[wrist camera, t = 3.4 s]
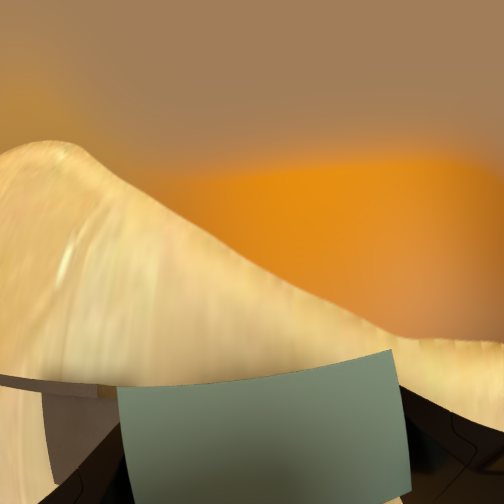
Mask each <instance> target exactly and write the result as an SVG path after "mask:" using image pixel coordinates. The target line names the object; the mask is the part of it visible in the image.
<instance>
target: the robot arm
mask: <svg viewBox="0 0 504 504" xmlns="http://www.w3.org/2000/svg"><path fill="white" fill-rule="evenodd" d="M399 389H400V394H401V400H402V406H403V412H404V419H405V426H406V434H407V442H408V451H409V461H410V473H411V488H412V491H410V492H408V493H406V494H404V495H401V496H400V498H401V501H402V503H403V504H504V432H502V431H498V430H495V429H492V428H489V427H486V426H483V425H481V424H478V423H475V422H473V421H470V420H468V419H466V418H464V417H461V416H459V415H457V414H455V413H453V412H450V411H449V410H447V409H445V408H443V407H441V406H439V405H437V404H435V403H433V402H431V401H429V400H427V399H425V398H423V397H421V396H420V395H418V394H416V393H414V392H412V391H410V390H408V389H406V388H404V387H402V386H401V385H399ZM38 504H135V501H134V496H133V492H132V488H131V483H130V479H129V474H128V469H127V463H126V458H125V452H124V446H123V439H122V432H121V424H120V421H119V422H118V423H117V424H116V426H115V427H114V428H113V429H112V430H111V431H110V432H109V433H108V434H107V435H106V437H105V438H104V439H103V440H102V441H101V442H100V443H99V444H98V445H97V446H96V447H95V449H94V450H93V451H92V452H91V453H90V454H89V455H88V456H87V457H86V458H85V459H84V460H83V462H82V463H81V464H80V465H79V466H78V469H77V468H76V469H75V470H74V471H73V472H72V473H71V474H70V475H69V476H68V477H67V478H66V479H65V480H64V481H63V482H62V483H61V484H60V485H59V486H58V487H57V488H56V489H55V490H54V491H52V492H51V493H50V494H49V495H48V496H46V497H45V498H44V499H43V500H42V501H40V502H39V503H38Z"/></svg>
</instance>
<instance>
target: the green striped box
mask: <svg viewBox="0 0 504 504" xmlns="http://www.w3.org/2000/svg"><path fill="white" fill-rule="evenodd" d="M117 396H118V407H119V416H120V424H121V432H122V439H123V446H124V452H125V458H126V463H127V469H128V474H129V479H130V483H131V488H132V492H133V496H134V501H135V504H382V503H385V502H387V501H390V500H392V499H395V498H397V497H399V496H401V495H404V494H406V493H408V492H410V491H412V488H411V473H410V461H409V451H408V442H407V434H406V426H405V419H404V412H403V406H402V400H401V394H400V389H399V383H398V378H397V373H396V368H395V363H394V359H393V354H392V349H390V350H386V351H383V352H379V353H376V354H372V355H368V356H365V357H361V358H357V359H353V360H349V361H344V362H340V363H336V364H331V365H327V366H322V367H317V368H313V369H307V370H302V371H297V372H291V373H286V374H280V375H274V376H267V377H260V378H253V379H246V380H237V381H229V382H219V383H208V384H196V385H181V386H159V387H117Z"/></svg>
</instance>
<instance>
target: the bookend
mask: <svg viewBox="0 0 504 504" xmlns="http://www.w3.org/2000/svg"><path fill="white" fill-rule="evenodd" d="M0 385H1V386H6V387H11V388H16V389H22V390H28V391H35V392H41V394H42V408H43V418H44V427H45V435H46V442H47V448H48V454H49V459H50V465H51V469H52V474H53V479H54V483H55V484H58V485H60V484H61V483H62V482H63V481H64V480H65V479H66V478H67V477H68V476H69V475H70V474H71V473H72V472H73V471H74V470H75V469H76V468H77V469H78V466H79V465H80V464H81V463H82V462H83V460H84V459H85V458H86V457H87V456H88V455H89V454H90V453H91V452H92V451H93V450H94V449H95V447H96V446H97V445H98V444H99V443H100V442H101V441H102V440H103V439H104V438H105V437H106V435H107V434H108V433H109V432H110V431H111V430H112V429H113V428H114V427H115V426H116V424H117V423H118V422H119V421H120V416H119V407H118V396H117V387H115V386H107V385H99V384H83V383H67V382H55V381H45V380H36V379H28V378H21V377H14V376H8V375H2V374H0Z"/></svg>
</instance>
